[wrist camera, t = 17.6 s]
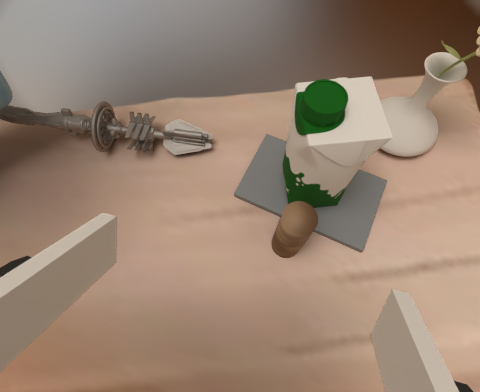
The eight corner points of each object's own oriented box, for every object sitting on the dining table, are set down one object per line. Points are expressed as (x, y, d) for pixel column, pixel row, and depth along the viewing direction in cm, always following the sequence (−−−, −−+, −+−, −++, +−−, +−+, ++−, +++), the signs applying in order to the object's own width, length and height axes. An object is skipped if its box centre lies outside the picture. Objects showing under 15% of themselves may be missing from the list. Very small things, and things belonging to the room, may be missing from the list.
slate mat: (234, 196, 46) (234, 193, 45) (266, 137, 50) (266, 133, 49) (360, 252, 42) (363, 250, 41) (384, 183, 46) (386, 180, 45)
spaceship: (-4, 77, 47) (-42, 101, 41) (216, 107, 48) (209, 134, 42) (17, 121, 52) (-14, 147, 47) (214, 147, 53) (207, 176, 48)
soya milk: (275, 164, 47) (291, 62, 28) (332, 159, 47) (385, 53, 28) (284, 217, 43) (308, 139, 25) (345, 211, 43) (415, 129, 25)
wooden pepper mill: (268, 252, 42) (277, 228, 32) (275, 227, 44) (287, 196, 34) (295, 261, 42) (313, 240, 32) (302, 235, 43) (321, 207, 33)
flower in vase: (350, 142, 49) (438, -16, 26) (375, 95, 53) (472, -81, 30) (429, 178, 46) (607, 34, 23) (450, 125, 50) (622, -44, 27)
